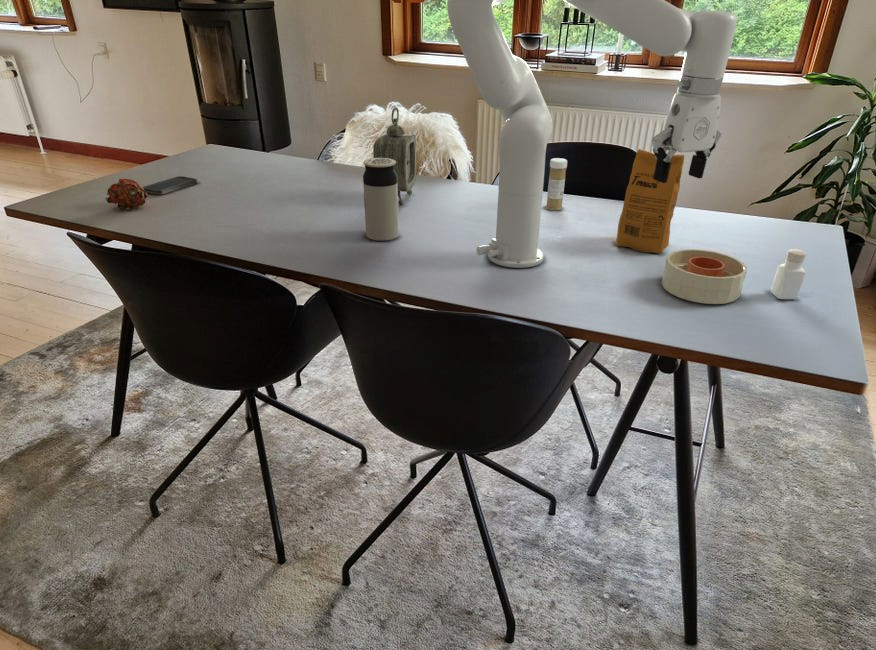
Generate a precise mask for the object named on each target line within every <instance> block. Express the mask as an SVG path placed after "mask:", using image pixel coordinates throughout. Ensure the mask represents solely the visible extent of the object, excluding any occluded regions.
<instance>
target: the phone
mask: <svg viewBox="0 0 876 650" xmlns="http://www.w3.org/2000/svg"><path fill="white" fill-rule="evenodd" d="M197 184H198V179H197V178H193V177H187V176H183V175H182V176H181V175H179V176H175V177H171V178H168V179H165V180H162V181H157V182H155V183H152V184H151V183H150V184H148V185H144V186H141V187H142V188H143V189H144V190H145V191H146V194H152V195H157V196H158V195H159V196H161V195H166V194H168V193H172V192H175V191H179V190H181V189H185V188H188V187H191V186H194V185H197Z"/></svg>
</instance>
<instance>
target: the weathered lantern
mask: <svg viewBox="0 0 876 650" xmlns="http://www.w3.org/2000/svg"><path fill="white" fill-rule="evenodd" d="M395 112H396V117H394V115H395ZM399 112H400V111H399V108H398V107H397V106H394V107H393V108H392V111H391V123H392V124H391V125H390V126H388V127H387V129H386V132H385V134H383V135H381V136H379V137H378V138H376V140H375V141H374V142H373V148H372V150H373V153H372V158H389V159H393V160H395V161H396V164H395V166H394V170H395V172H396V174H397V189H398V206H400V207H402V206H404V205H405V201H404V200H403V199H402V195H401V192H404V193H405V192H406V194H407V195H408V196H411V195H412V194H413V191H412V189H413V187H414V186H415V183H416V180H417V140H416V139H417V138H416V135H415V134H414V133H406V132H405V129H404V127H402V125H399V124H398V122H399V119H400V118H399V117H400V113H399Z"/></svg>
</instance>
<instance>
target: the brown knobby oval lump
mask: <svg viewBox="0 0 876 650" xmlns="http://www.w3.org/2000/svg"><path fill="white" fill-rule="evenodd" d="M142 187H143V186H141V184H139V183H138V181H135V180H134V179H132V178H118V181H117V183H112V184H111V185H110V186H109V188H108V189H107V191H106V196H107V197H105V200H106V202H107V203H108V204H114V205H117V207H118V208H119V209H120V210H123V211H124V210H127V209H130V210H138V209H139V208H140V206H144V205H145V204H146V200H147V198H148V197H149V195H148V193H147V192H146V191H145V190H144V189H143V188H142Z"/></svg>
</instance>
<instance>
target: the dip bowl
mask: <svg viewBox="0 0 876 650" xmlns="http://www.w3.org/2000/svg"><path fill="white" fill-rule="evenodd" d="M724 268H725V264H724V263H723V262H721V261H719V260H717V259H714V258H709V257H693V258H690V259H689V260H688V264H687V269H686V271H687V272H691V273H694V274H698V275H704V276H711V277H722V276H723V272H724Z"/></svg>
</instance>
